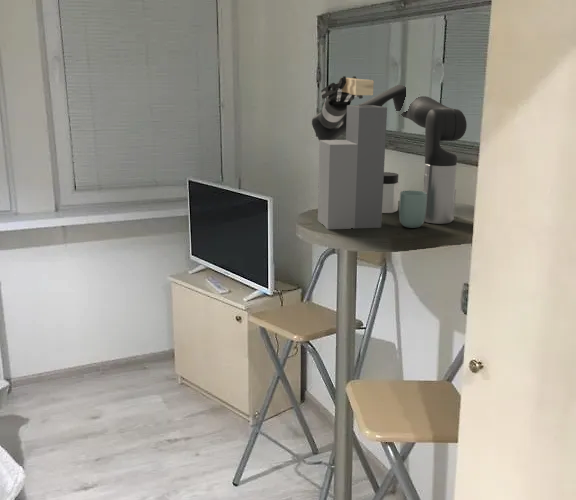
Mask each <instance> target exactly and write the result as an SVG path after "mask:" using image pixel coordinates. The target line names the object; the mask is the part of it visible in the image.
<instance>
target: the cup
mask: <svg viewBox="0 0 576 500" xmlns="http://www.w3.org/2000/svg"><path fill="white" fill-rule="evenodd" d="M426 207H427V193H426V192H423V190H422V191H421V190H402V191H399V199H398V217H399V222H400V225H402V226H403V227H404V228H407V229H408V228H410V229H417V228H420V227H422V225H424V223H425V222H424V220H425V215H426Z"/></svg>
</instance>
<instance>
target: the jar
mask: <svg viewBox="0 0 576 500" xmlns="http://www.w3.org/2000/svg"><path fill="white" fill-rule="evenodd" d="M399 198H400V182H399V173H396V172H388V171H386V172H385V171H384V181H383V201H382V214H393V213H395V212H397V211H399Z"/></svg>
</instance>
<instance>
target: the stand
mask: <svg viewBox="0 0 576 500" xmlns="http://www.w3.org/2000/svg"><path fill="white" fill-rule="evenodd" d="M387 117H388V107H385V106H382V107H381V106H375V105H359V104H355V105H353V104H350V105H347V120H346V132H345V139H335V140H319V139H318V142H319V148H318V187H317V188H318V190H317V193H318V194H317V222H319V223H320V224H321V225H322V224H323V225H324V226H325V227H324V226H323V225H322V226H323V227H324V228H325V229H327V230H345V229H348V230H349V229H350V230H351V228H353V229H375V228H377V229H379V228H382V219H383V218H382V216H383V213H382V201H383V181H384V172H385V160H386V159H385V157H386V156H385V155H386V154H385V153H386V138H387V136H386V135H387V133H386V132H387Z"/></svg>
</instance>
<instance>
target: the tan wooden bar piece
mask: <svg viewBox="0 0 576 500" xmlns="http://www.w3.org/2000/svg"><path fill="white" fill-rule="evenodd" d="M341 78H342V77H340V79H341ZM340 79H339V80H340ZM342 92H346V93H350V94H352V95H363V96H373V95H374V80H372V79H362V78H357V79H354V78H352V77H346V84H345V86H344V88H343V89H342Z"/></svg>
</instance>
